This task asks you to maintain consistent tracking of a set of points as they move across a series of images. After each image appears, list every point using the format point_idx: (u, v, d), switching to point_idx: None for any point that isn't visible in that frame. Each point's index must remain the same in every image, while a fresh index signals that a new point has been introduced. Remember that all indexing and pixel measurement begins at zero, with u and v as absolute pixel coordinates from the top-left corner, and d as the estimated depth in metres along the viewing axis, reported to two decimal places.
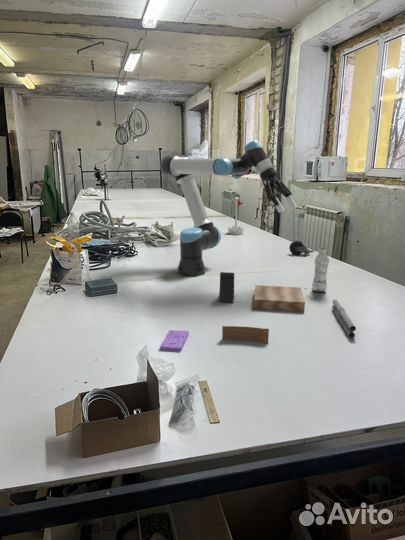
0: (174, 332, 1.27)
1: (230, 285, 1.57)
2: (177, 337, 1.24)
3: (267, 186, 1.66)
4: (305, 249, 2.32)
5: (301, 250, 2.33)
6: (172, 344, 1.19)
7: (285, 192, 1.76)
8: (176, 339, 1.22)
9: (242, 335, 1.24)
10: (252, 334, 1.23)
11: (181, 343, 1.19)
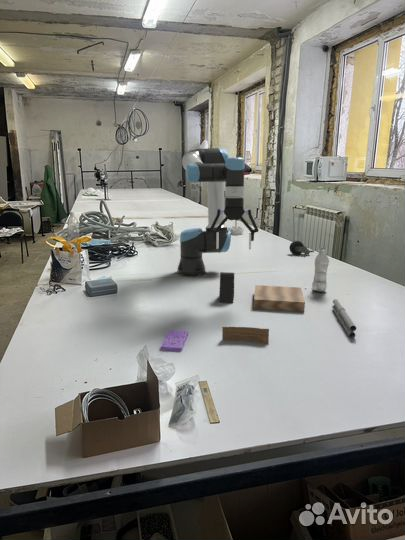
0: (174, 332, 1.27)
1: (230, 285, 1.57)
2: (177, 337, 1.24)
3: (215, 217, 1.52)
4: (305, 249, 2.32)
5: (301, 250, 2.33)
6: (172, 344, 1.19)
7: None
8: (176, 339, 1.22)
9: (242, 336, 1.23)
10: (252, 334, 1.23)
11: (181, 343, 1.19)
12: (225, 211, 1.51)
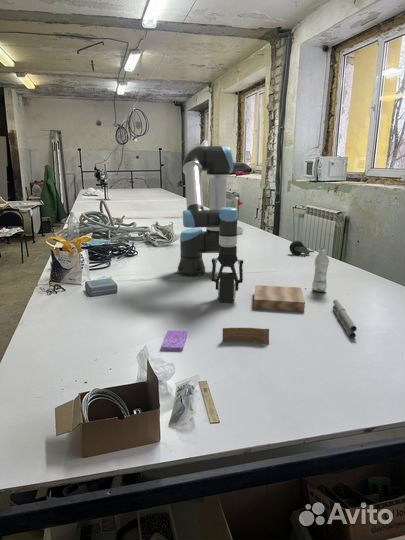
0: (173, 332, 1.27)
1: (230, 285, 1.57)
2: (177, 337, 1.24)
3: None
4: (305, 249, 2.32)
5: (301, 250, 2.33)
6: (173, 344, 1.19)
7: (234, 277, 1.57)
8: (176, 339, 1.22)
9: (242, 336, 1.23)
10: (253, 335, 1.23)
11: (182, 343, 1.19)
12: (218, 259, 1.55)
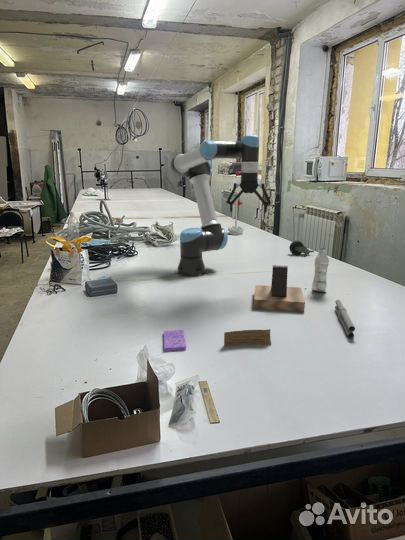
0: (170, 332, 1.27)
1: (283, 279, 1.52)
2: (176, 337, 1.24)
3: (232, 190, 1.69)
4: (305, 249, 2.32)
5: (301, 250, 2.33)
6: (175, 344, 1.19)
7: (261, 200, 1.68)
8: (176, 339, 1.22)
9: (244, 339, 1.21)
10: (254, 336, 1.21)
11: (183, 342, 1.20)
12: (241, 185, 1.67)
